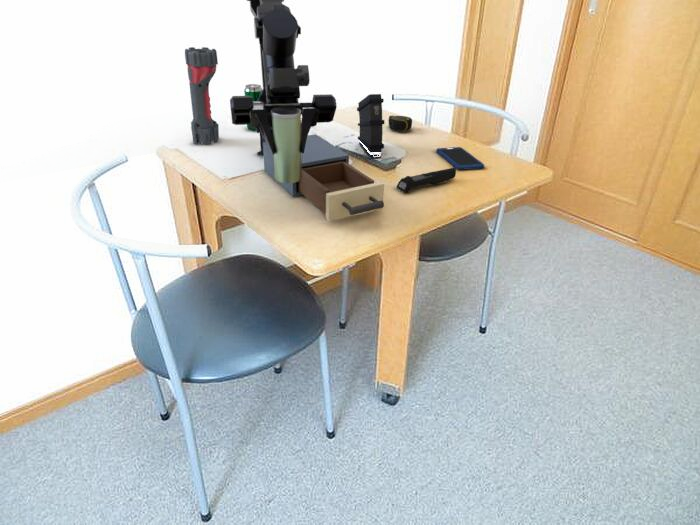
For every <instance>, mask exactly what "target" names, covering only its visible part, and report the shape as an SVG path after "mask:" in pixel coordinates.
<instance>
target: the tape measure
mask: <svg viewBox="0 0 700 525" xmlns="http://www.w3.org/2000/svg"><path fill="white" fill-rule="evenodd" d="M387 121H388V126H389V127H388V128H389V129H390V130H393V131H397V132H399V133H404V132H407V131H411V129H412V126H413V119H412V117H410V116H406V115H389V116H388V120H387Z"/></svg>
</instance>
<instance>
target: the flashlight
mask: <svg viewBox="0 0 700 525" xmlns="http://www.w3.org/2000/svg"><path fill="white" fill-rule="evenodd" d="M184 59H185V65H187V75H188V81H189V82H188V83H189V91H190V92H189V93H190V94H189V95H190V101H191V112H192V121H191V122H190V126H191V127H190V129H191V136H192V143H193V145H197V146H198V145H202V144H204V145H205V146H208V145H211V143H214V144H216V143H218V142H219V139H220V134H219V133H220V131H219V123H218V122H217V121H216V120H214V119H213V118H212V110H211V106H212V105H211V97H210V89H209V86H210V82H211V80H212V79H213V77H214V76H215V74H216V72H217V65H219V63H218V62H219V61H218V51H217V49H215V48H212V49H211V48H209V47H205V46H202V47H201V48H195V47H193V46H191V47H188V48H185V49H184Z"/></svg>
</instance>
